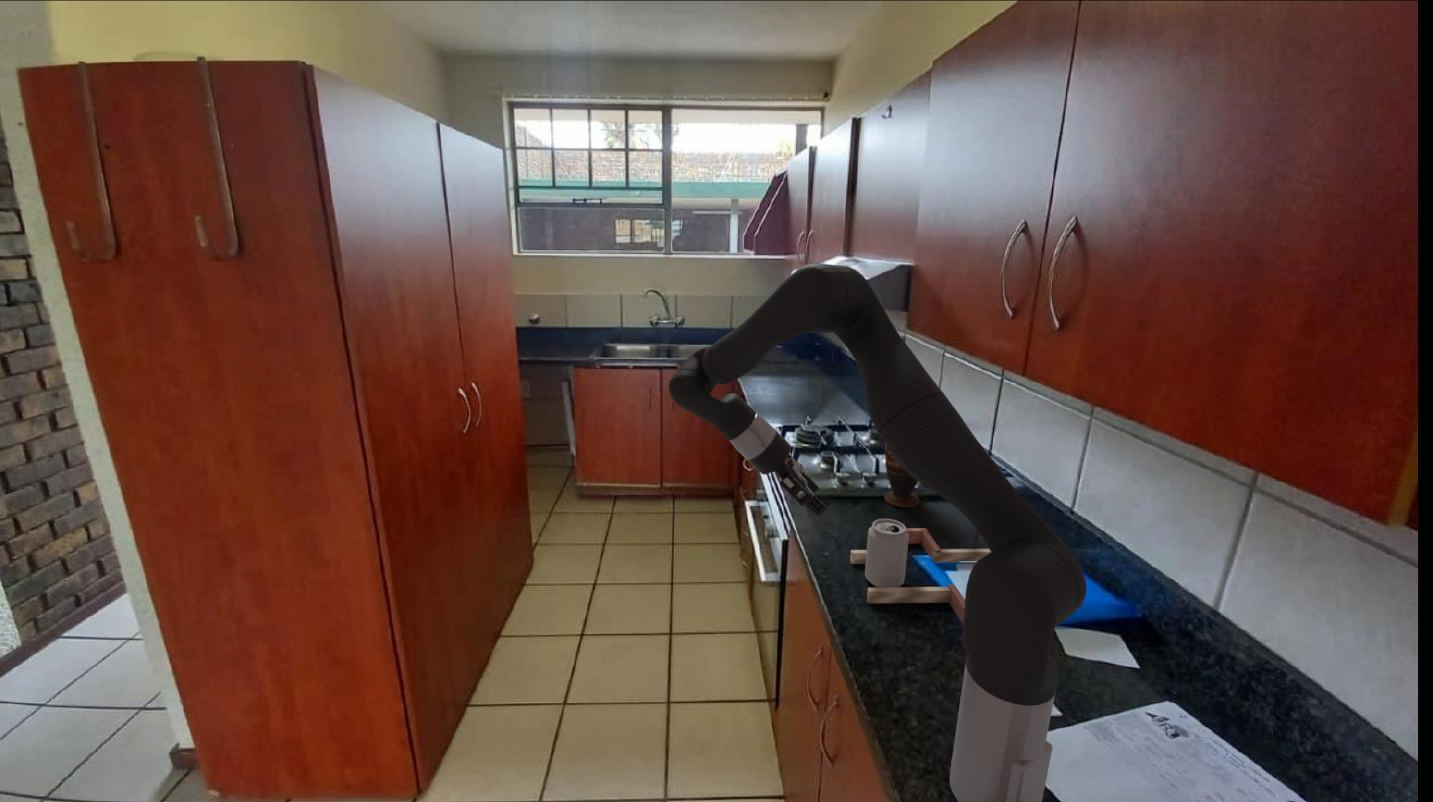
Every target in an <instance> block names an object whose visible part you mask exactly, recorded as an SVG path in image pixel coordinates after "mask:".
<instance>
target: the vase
mask: <svg viewBox="0 0 1433 802" xmlns="http://www.w3.org/2000/svg"><path fill="white" fill-rule="evenodd" d="M884 445H885V448H884V449H885V452H884V453H885V454H884V459H885V460H884V461H885V469H886V474H887V475H886V476H887V477H888V478H887V479H888V482H889V483H890V486H891V490H893V491H891V492H888V491H886V493H885V494H884V500H885V501H886V502H887V503H889V505H892V506H895V507H900V508H906V509H908V508H913V507H916V506H918V505H919V504H920V498H919V496H918V495H917V493H915V492H913V491H914V489H915V488H916V486H917V485H918V483H920V482H919V481H918V480H916V479H915V478H914V477H913V476H911V475H910V474H909V473H908V472H907V471H906V470H905V469H903V467H902V466H901V465H900V464H899V463H898V461H897V460H896V459H895V457H894V456H893V455H892V453H891V452H890V450H889V449H888V447H887V446H886V444H885V443H884Z"/></svg>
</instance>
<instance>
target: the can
mask: <svg viewBox="0 0 1433 802" xmlns="http://www.w3.org/2000/svg"><path fill="white" fill-rule="evenodd" d="M871 525H872V526H870V527H869V528H868V532H867V543H866V550H867V554H866V564H865V566H864V567H865V569H864V575H865V579H866V580H867V581H868V583H870V584H872V586H874V587H875V588H883V587H902V585H903V584H904V583H905V578H906V571H907V569H906V568H907V559H908V548H909V543H908V541H909V534H908V533H907V531H906V528H907V527H906V526H905V524H903V523H902V522H900V521H898V520H896V519H891V518H879V519H877V520H876V519H875V520H874V521H873V522H872V524H871Z"/></svg>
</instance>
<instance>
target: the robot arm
mask: <svg viewBox="0 0 1433 802" xmlns="http://www.w3.org/2000/svg"><path fill="white" fill-rule="evenodd" d="M806 333H813V334H828V333H829V334H830V333H832V334H834V335H835V336H837V338H838V339H839V340H840V341H841V342H842V344H844V346H845V347H846V349H847V350H848V351H849V353H850V354H851V356H852V357H853V358H854V360H855V362H856V363H857V366H858V367H859V369H860V373H861V376H862V381H863V386H864V394H865V401H866V407H867V411H868V415H869V417H870V420H871V423H872V425H873V427H874V428H875V430H876V432H877V433H878V434H879V436H880V438H881V440H882V441H883V443H884V445H885V444H886V446H887V447H888V449H889V450H890V452H891V453H892V455H893V456H894V457H895V459H896V460H897V461H898V463H899V464H900V465H901V466H902V467H903V469H905V470H906V471H907V472H908V473H909V474H910V475H911V476H913V477H914V478H915V479H916V480H918V481H919V482H918V483H920V484H922V485H923V486H925V487H926V488H928V489H929V490H931V491H932V492H934V493H935V494H937V495H938V496H939V497H941V498H943V500H945V501H947V502H948V503H950V504H951V505H953V506H954V507H955V509H957V510H958V511H959V512H961V513H962V514H963V516H965V518H966V519H967V520H968V521H969V522H970V524H972V526H973V527H974V528H975V530H976V531H977V533H978V534H979V536H980V537H981V539H982V540H983V542H984V543H985V545H986V546H987V549H990V551H991V553H989V554H987V555H986V556H984V557H982V558H981V559H980V560H978V561H977V562H976V563H974V565H973V566H972V568H971V570H970V573H969V575H968V579H967V584H966V587H965V589H966V590H965V597H964V599H965V606H964V619H963V624H962V635H961V636H962V644H963V648H964V651H965V653H966V661H965V665H964V673H963V679H962V685H961V686H962V687H961V693H960V701H959V709H958V715H957V721H956V722H957V723H956V728H955V735H954V736H955V737H954V742H953V749H952V757H951V762H950V773H949V786H950V789H951V791H952V794H953V795H954V797H955V799H956V800H957V802H1043V797H1044V793H1045V788H1046V783H1047V779H1048V772H1049V767H1050V763H1051V759H1052V754H1053V753H1052V752H1053V744H1051V743H1050V742H1048V741H1047V737H1048V733H1049V728H1050V722H1051V718H1052V717H1051V716H1052V712H1053V706H1054V702H1055V701H1054V700H1055V698H1056V697H1055V696H1056V692H1057V689H1058V683H1059V676H1060V675H1059V673H1060V671H1059V668H1058V663H1057V662H1056V660H1055V658H1054V657H1053V656H1052V654H1051V652H1050V651H1051V644H1052V639H1053V635H1054V632H1055V629H1056V628H1057V627H1058V626H1059V625H1061V624H1062V623H1063V622H1064V621H1065V620H1067V619H1068V618H1069V617H1071V616H1072V615H1073V614H1074V613H1075V612H1077V611H1078V610H1079V608H1080V607H1081V606H1082V605H1083V603H1084V602H1085V599H1086V597H1087V589H1088V588H1087V580H1086V577H1085V573H1084V571H1083V569H1082V567H1081V565H1080V563H1079V562H1078V559H1076V557H1075V555H1074V554H1073V553H1072V551H1071V550H1070V549H1069V548H1068V547H1067V545H1066V544H1065V542H1063V540H1062V539H1061V538H1060V537H1059V536H1058V535H1057V534H1056V533H1055V532H1054V531H1053V529H1052V528H1051V527H1050V526H1049V525H1048V524H1047V523H1046V521H1044V520H1043V519H1042V517H1041V516H1040V515H1039V514H1038V513H1037V512H1036V511H1035V510H1034V509H1033V508H1032V507H1031V506H1030V504H1029V503H1028V502H1027V501H1026V500H1025V499H1024V497H1022V495H1021V494H1020V493H1019V492H1018V491H1017V489H1016V488H1015V487H1014V486H1013V485H1012V484H1011V482H1010V480H1008V478H1007V477H1006V476H1005V474H1004V473H1003V472H1002V470H1001V469H1000V468H999V466H998V465H997V463H995V461H994V460H993V458H992V457H991V456H990V453H988V451H986V449H985V448H984V447H983V445H982V444H981V443H980V442H979V440H978V439H977V437H975V435H974V433H972V430H971V429H970V427H968V424H967V423H966V421H965V420H964V419H963V418H962V416H961V414H960V413H959V412H958V411H957V409H956V408H955V407H954V405H953V404H952V403H951V402H950V400H949V398H948V397H947V395H945V392H944V391H942V389H941V388H940V387H939V385H937V383H936V381H934V380H933V378H932V376H931V375H930V374H929V373H928V372H927V370H926V369H925V367H924V366H923V364H922V363H921V362H920V360H919V358H918V357H917V356H916V355H915V354H914V352H913V351H912V349H910V347H909V346H908V344H907V343H906V341H905V340H904V339H903V338H902V336H901V335H900V334H899V332H898V330H897V329H896V327H895V325H894V324H893V322H892V320H891V318H890V317H889V315H888V314H887V312H886V310H885V309H884V307H883V305H882V303H881V301H880V300H879V297H878V296H877V294H876V293H875V291H874V289H873V288H872V286H871V285H870V283H869V282H868V280H867V279H866V278H865V277H864V275H863V274H861V272H859V271H858V270H856V269H855V268H853V267H851V266H848V265H840V264H827V263H809V264H806V265H804V266H801V267H800V268H798V269H797V270H796V271H794V272H793V273H791V274H790V275H789V276H788V277H787V278H786V279H785V280H784V281H783V282H782V284H780V285H779V286H778V287H777V289H775V291H774V292H773V293H772V294H771V295H770V296H769V298H767V299H766V300H765V301H764V302H763V303H762V304H761V305H760V306H759V307H758V308H757V309H756V310H755V311H754V312H753V313H752V314H751V315H750V316H749V317H748V318H747V319H746V320H744V321H743V322H742V323H740V324H739V326H737V327H735V328H734V329H733V330H732V331H730V332H728V333H727V334H726V335H723V337H721V338H720V339H718V340H716V341H715V342H714V343H713V344H711V345H709V346H705V347H702V348H700V349H697V350H696V351H695V352H693V353H692V354H691V355H690V356H688V358H686V360H685V361H684V362H683V364H682V365H681V366H680V367H679V368H678V370H676V372H675V373H674V374H673V376H672V377H671V379H670V380H669V382H668V392H669V394H670V396H671V399H672V400H673V402H675V404H677V405H678V406H679V407H680V408H682V409H684V410H685V411H687V412H689V413H691V414H693V415H695V416H696V417H698V418H700V419H702V420H704V421H705V422H707V423H709V424H710V425H711V426H713V427H715V429H716V430H718V432H719V433H721V435H723V436H724V437H725V438H726V439H727V440H728V441H729V442H730V443H731V445H733V447H734V449H736V451H737V452H738V453H739V454H740V455H742V456H743V457H744V458H745V459H746V460H747V462H748V463H749V464H750V465H752V466H753V468H755V470H757V471H758V472H759V473H760V474H761V475H769V474H772V473H775V474H776V475H777V476H776V478H777V479H778V481H779V484H780V486H781V487H782V488H783V489H784V490H785V491H786V492H787V493H788V494H789V495H790V496H791V497H792V498H793V499H794V500H795V501H796V502H797V503H798V505H800V506H801V507H803V506H805V505H806V506H807V507H808V509H810V510H811V512H813V513H814V514H815V515H816V516H821V515H822V514H823V513H824V512H826V511H827V506H826V505H825V504H824V503H823V502H822V501H821V499H819V498H818V497H817V496H816V495H815V493H816V492H818V491H819V488H820V487H819V486H818V484H817V483H816V482H815V481H813V479H812V478H811V477H810V476H808V475H807V472H806V470H805V469H803V468H804V467H803V465H802V463H799V461H798V460H796V459H795V458H794V457H793V456H792V454H791V451H792V446H791V444H790V442H788V440H786V438H785V437H784V436H782V435H781V434H780V433H779V432H778V431H777V429H775V428H774V427H773V426H772V425H771V424H770V422H768V421H767V420H766V419H765V418H764V417H762V416H761V415H760V414H759V413H757V411H755V409H753V408H752V407H751V406H750V405H749V404H748V403H747V402H746V401H745V400H744V399H743V398H742V397H741V396H739V394H737V393H728V394H725V396H723V397H722V398H720V399H717V398H715V397H714V396H712V395H711V394H712V392H713V391H714V389H715V388H716V386H717V385H718V384H720V385H726V384H730V383H732V382H734V381H736V380H738V379H740V378H741V377H743V376H745V375H746V374H749V373H750V372H752V371H753V370H755V369H756V368H758V367H759V366H760V365H761V364H762V363H763V362H764V361H765V360H766V359H767V357H768V356H769V353H770V352H771V351H772V350H773V348H775V347H776V346H778V345H779V344H780V343H782V342H783V343H784V341H786V340H789V339H791V338H792V339H793V338H795V337H798V336H801V335H803V334H806ZM801 492H803V495H802V494H801Z"/></svg>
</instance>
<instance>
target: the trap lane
mask: <svg viewBox="0 0 1433 802" xmlns="http://www.w3.org/2000/svg"><path fill="white" fill-rule="evenodd" d="M906 531H907V533H908V534H909V541H908V544H920V545H921V547H922V548H923V549H924V551H925V552H926V554H927V556H928V557H929V556H930V557H932V559H933V561H934V562H940V561H941V562H957V561H978V560H980V559H981V558H982V557H984V556H986V555H987V554H989V553H991V551H990V549H989V548H948V549H947V548H942V549H941V547H940V546H939V545H938V544H937V542H936V541H935V540H934V538H933V537H932V536H931V534H930V532H929V530H928V529H927V528H926V527H922V528H921V527H920V528H918V527H917V528H915V527H914V528H913V527H911V528H907V527H906ZM866 554H867V549H851V550H850V556H849V557H850V558H849V559H850V561H849V562H850V563H851V565H866ZM930 557H929V558H930ZM933 561H932V562H933ZM866 600H867V603H868V604H928V603H929V604H931V603H932V604H935V603H936V604H937V603H938V604H939V603H940V604H942V603H946V604H947V603H948V604H949V605H950V606H951V608H952V610H953V612H954V613H955V614H956V616H957V617H958V619H959V620H960V622H961V624H962V625H963V619H964V606H965V597H964V596H963V594H962V593H961V592H960V591H959V589H958V588H957V586H956V584H954V583H953V584H952V583H951V584H947V586H909V587H908V586H907V587H906V586H903V587H902V586H899V587H883V588H878V587H867V593H866Z"/></svg>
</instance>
